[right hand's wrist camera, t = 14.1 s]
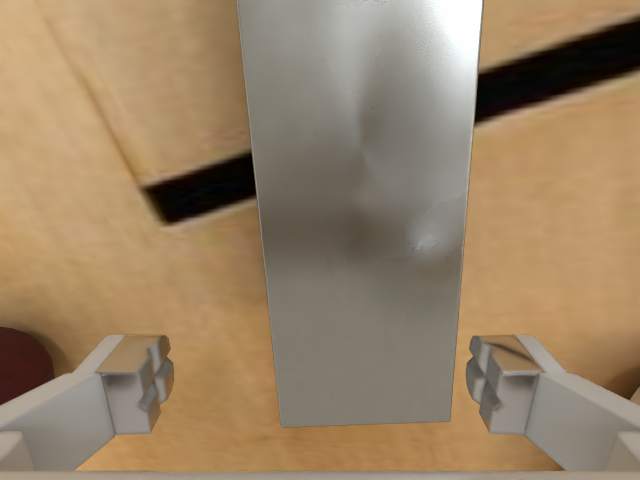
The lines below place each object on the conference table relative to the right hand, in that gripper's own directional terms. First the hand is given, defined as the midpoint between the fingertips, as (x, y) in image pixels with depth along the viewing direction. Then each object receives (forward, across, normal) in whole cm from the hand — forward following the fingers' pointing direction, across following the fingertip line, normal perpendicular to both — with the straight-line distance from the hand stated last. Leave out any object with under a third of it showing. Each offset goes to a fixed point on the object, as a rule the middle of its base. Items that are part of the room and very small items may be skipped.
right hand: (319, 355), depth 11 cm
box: (+12, +1, +5) cm, 13 cm away
